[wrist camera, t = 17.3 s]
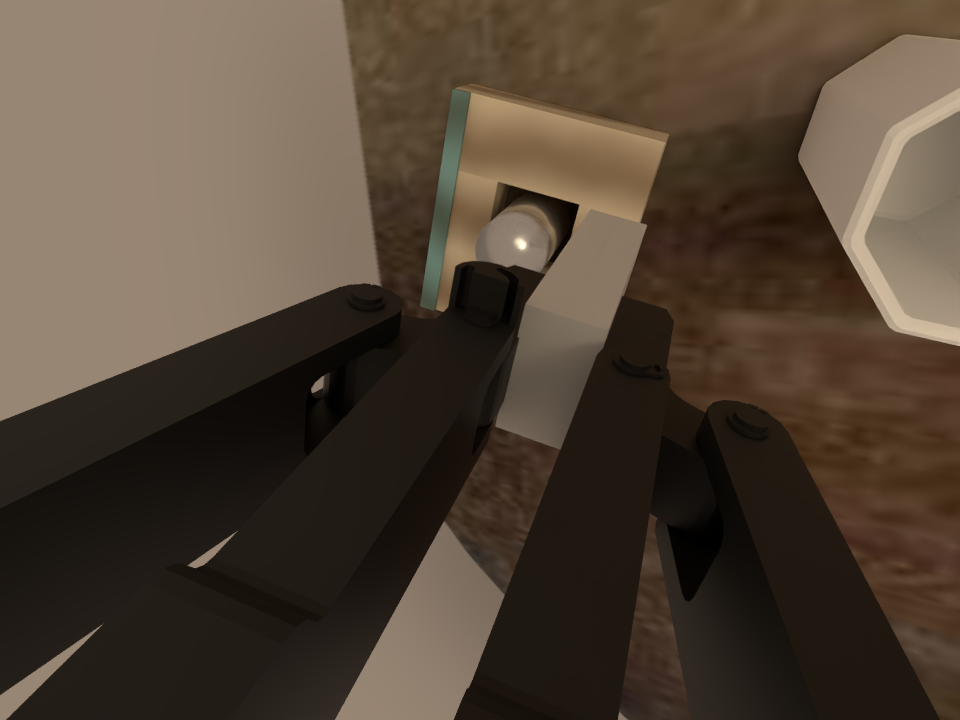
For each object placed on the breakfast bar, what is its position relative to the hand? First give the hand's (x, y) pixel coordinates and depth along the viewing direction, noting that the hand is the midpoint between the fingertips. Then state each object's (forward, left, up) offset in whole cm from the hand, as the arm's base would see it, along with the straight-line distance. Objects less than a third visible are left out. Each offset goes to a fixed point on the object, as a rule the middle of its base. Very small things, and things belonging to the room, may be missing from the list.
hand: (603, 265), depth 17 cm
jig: (+9, -7, -29) cm, 32 cm away
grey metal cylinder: (+9, -7, -29) cm, 32 cm away
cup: (-2, +13, -30) cm, 32 cm away
